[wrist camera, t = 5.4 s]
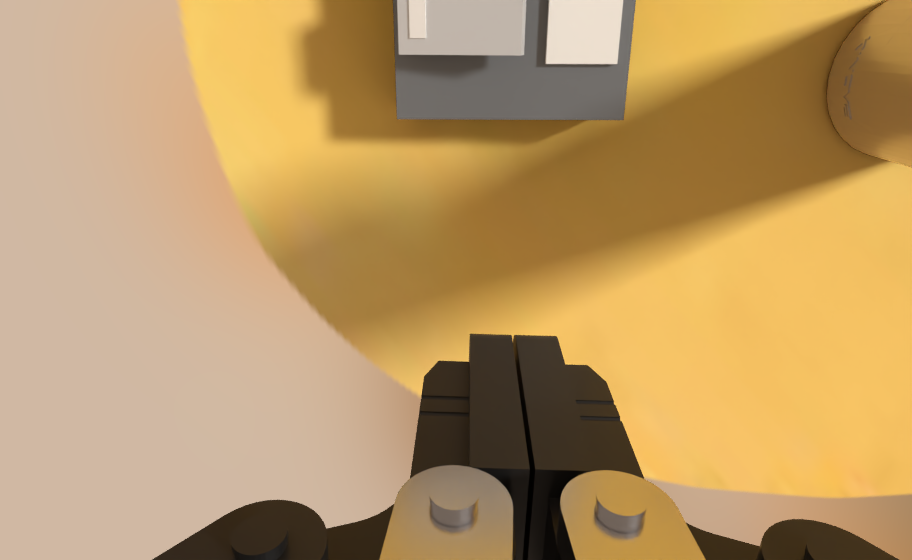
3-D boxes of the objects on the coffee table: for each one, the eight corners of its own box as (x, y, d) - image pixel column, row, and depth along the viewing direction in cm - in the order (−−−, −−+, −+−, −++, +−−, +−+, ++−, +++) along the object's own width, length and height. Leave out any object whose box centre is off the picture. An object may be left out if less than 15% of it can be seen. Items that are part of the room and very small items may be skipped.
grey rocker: (528, -25, 29) (524, -28, 27) (525, 54, 30) (520, 55, 28) (407, -22, 30) (395, -26, 28) (409, 53, 31) (398, 54, 29)
